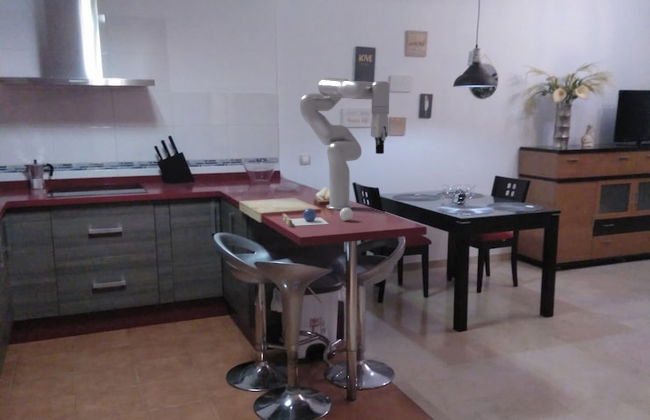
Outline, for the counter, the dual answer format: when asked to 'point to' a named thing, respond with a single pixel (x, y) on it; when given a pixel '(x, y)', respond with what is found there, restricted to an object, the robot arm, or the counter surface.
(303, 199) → the counter surface
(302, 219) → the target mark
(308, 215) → the navy ball
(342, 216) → the cue ball
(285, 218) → the stopper rail
